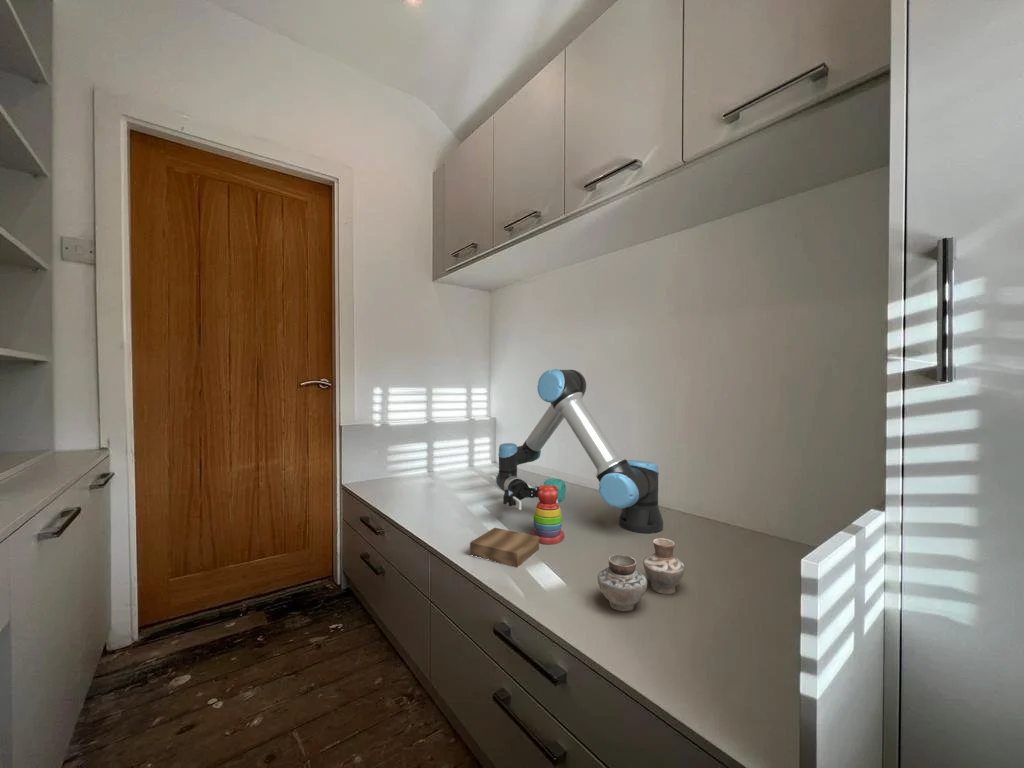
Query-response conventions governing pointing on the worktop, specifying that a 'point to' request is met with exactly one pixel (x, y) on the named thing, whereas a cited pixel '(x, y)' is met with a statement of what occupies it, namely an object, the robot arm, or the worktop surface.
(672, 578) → the pottery
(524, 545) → the plinth
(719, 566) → the worktop surface
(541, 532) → the stacking bear
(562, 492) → the decorative dice
